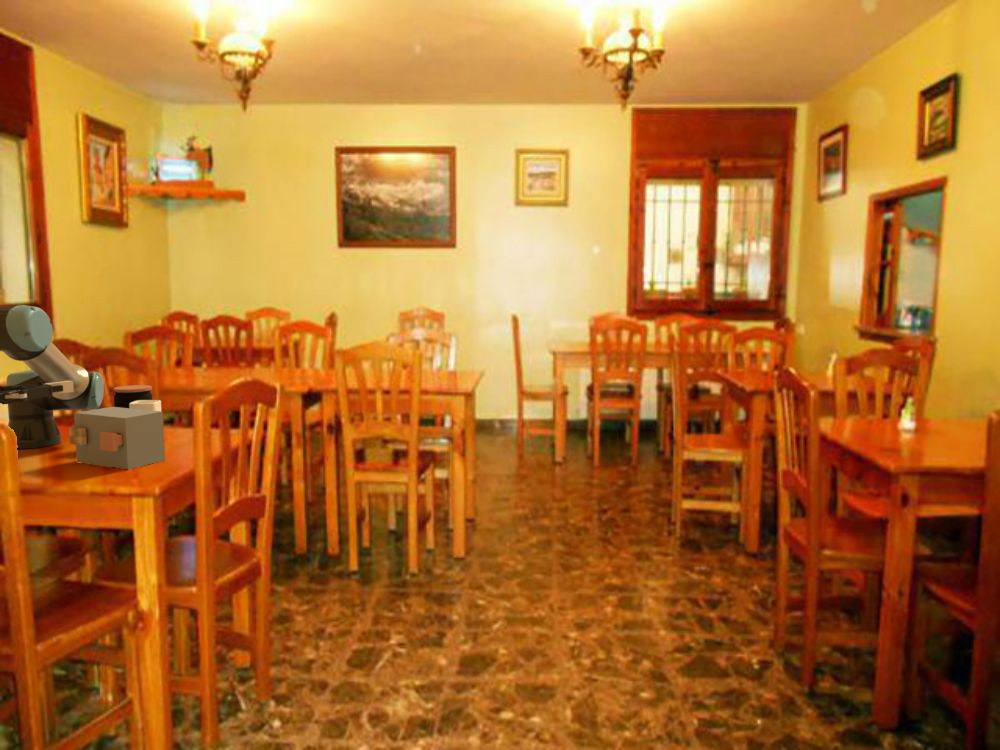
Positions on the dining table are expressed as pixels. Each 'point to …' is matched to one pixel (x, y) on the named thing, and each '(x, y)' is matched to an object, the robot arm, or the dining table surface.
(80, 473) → the dining table surface
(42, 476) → the dining table surface
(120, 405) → the coffee jar
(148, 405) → the cup
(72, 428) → the pale plunger
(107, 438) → the terracotta plunger
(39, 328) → the robot arm
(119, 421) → the wall block
